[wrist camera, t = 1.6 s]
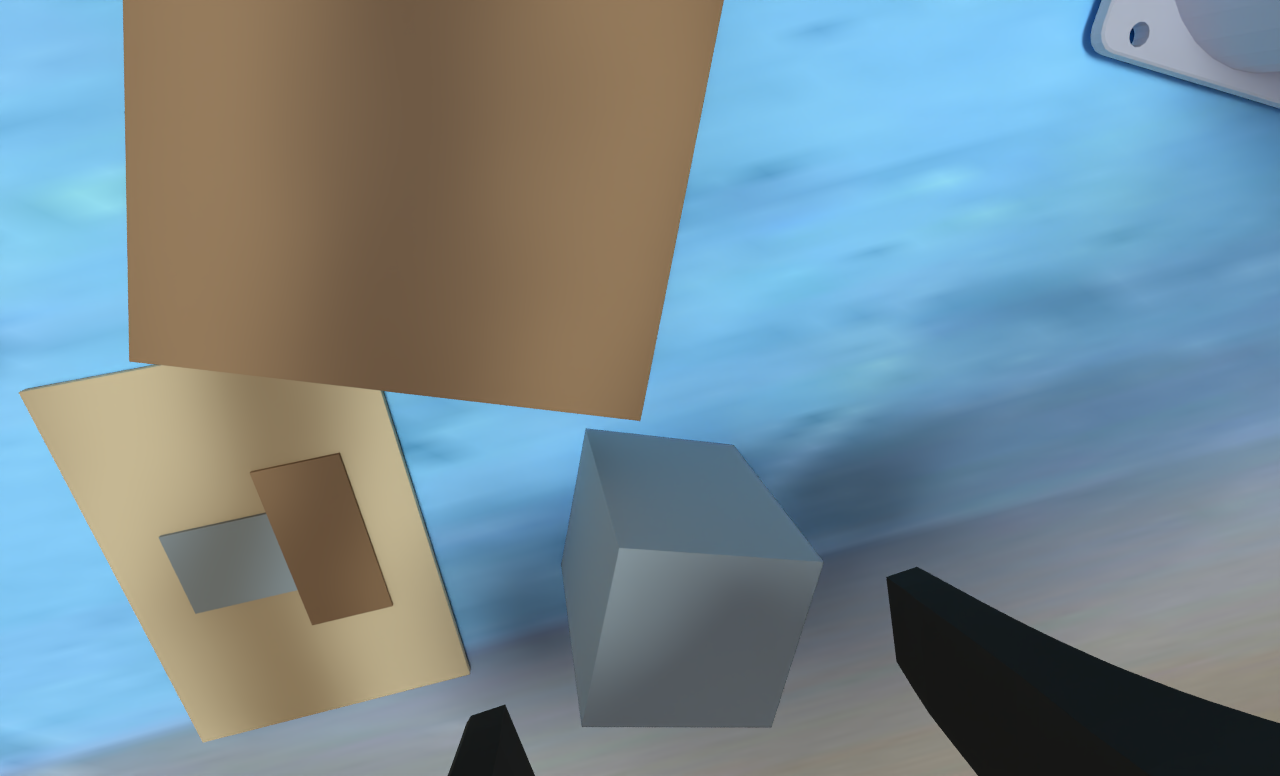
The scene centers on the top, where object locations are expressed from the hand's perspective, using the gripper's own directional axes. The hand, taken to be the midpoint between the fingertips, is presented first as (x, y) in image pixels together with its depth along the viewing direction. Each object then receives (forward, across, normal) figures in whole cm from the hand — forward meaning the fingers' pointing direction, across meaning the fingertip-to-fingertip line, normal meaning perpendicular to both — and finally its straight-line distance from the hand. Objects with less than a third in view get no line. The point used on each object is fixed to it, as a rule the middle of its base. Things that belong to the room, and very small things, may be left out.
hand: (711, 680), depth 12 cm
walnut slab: (+6, +2, -10) cm, 12 cm away
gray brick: (+6, 0, 0) cm, 6 cm away
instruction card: (+6, +9, -2) cm, 11 cm away
